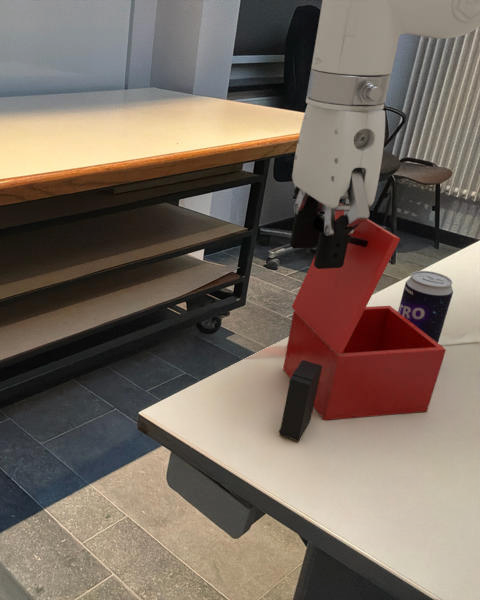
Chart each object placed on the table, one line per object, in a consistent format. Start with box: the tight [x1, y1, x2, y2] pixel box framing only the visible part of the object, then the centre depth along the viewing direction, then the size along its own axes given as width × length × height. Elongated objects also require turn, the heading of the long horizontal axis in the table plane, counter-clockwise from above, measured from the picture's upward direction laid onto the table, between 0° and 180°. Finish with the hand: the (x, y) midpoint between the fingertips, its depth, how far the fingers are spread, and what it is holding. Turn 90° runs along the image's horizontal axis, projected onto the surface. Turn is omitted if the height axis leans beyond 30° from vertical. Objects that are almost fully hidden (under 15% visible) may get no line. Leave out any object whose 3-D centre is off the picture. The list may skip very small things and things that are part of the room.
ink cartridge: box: [278, 360, 322, 442], centre depth 76 cm, size 5×2×8 cm, turn 147°
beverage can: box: [397, 270, 454, 344], centre depth 90 cm, size 6×6×12 cm
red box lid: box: [291, 202, 401, 354], centre depth 77 cm, size 14×11×5 cm
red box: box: [282, 305, 446, 421], centre depth 84 cm, size 13×11×9 cm
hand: (315, 255), depth 76 cm, fingers closed on red box lid, 5 cm apart
